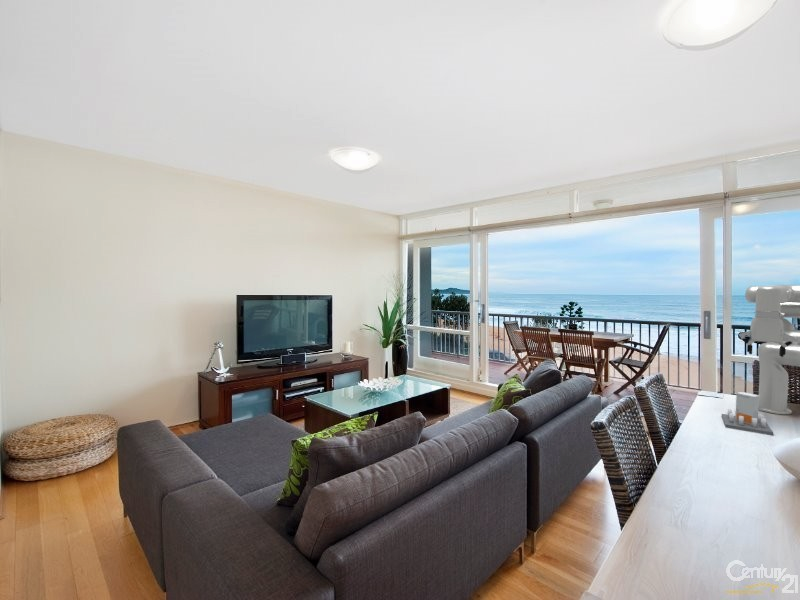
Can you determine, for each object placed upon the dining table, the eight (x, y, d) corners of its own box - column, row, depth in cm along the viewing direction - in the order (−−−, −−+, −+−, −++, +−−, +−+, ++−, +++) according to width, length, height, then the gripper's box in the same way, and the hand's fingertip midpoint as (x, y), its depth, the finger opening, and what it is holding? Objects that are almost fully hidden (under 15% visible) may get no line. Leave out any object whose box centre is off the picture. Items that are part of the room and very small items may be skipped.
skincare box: (734, 420, 157) (735, 392, 157) (740, 419, 159) (741, 391, 159) (753, 425, 152) (754, 396, 151) (758, 424, 154) (759, 395, 153)
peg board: (721, 416, 166) (721, 405, 166) (765, 423, 158) (765, 412, 158) (725, 427, 153) (726, 415, 153) (773, 435, 145) (773, 423, 145)
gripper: (793, 316, 158) (791, 356, 159) (738, 314, 168) (737, 351, 169) (798, 317, 152) (796, 358, 153) (741, 315, 162) (739, 354, 163)
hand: (765, 355), depth 161 cm, fingers open, 9 cm apart
